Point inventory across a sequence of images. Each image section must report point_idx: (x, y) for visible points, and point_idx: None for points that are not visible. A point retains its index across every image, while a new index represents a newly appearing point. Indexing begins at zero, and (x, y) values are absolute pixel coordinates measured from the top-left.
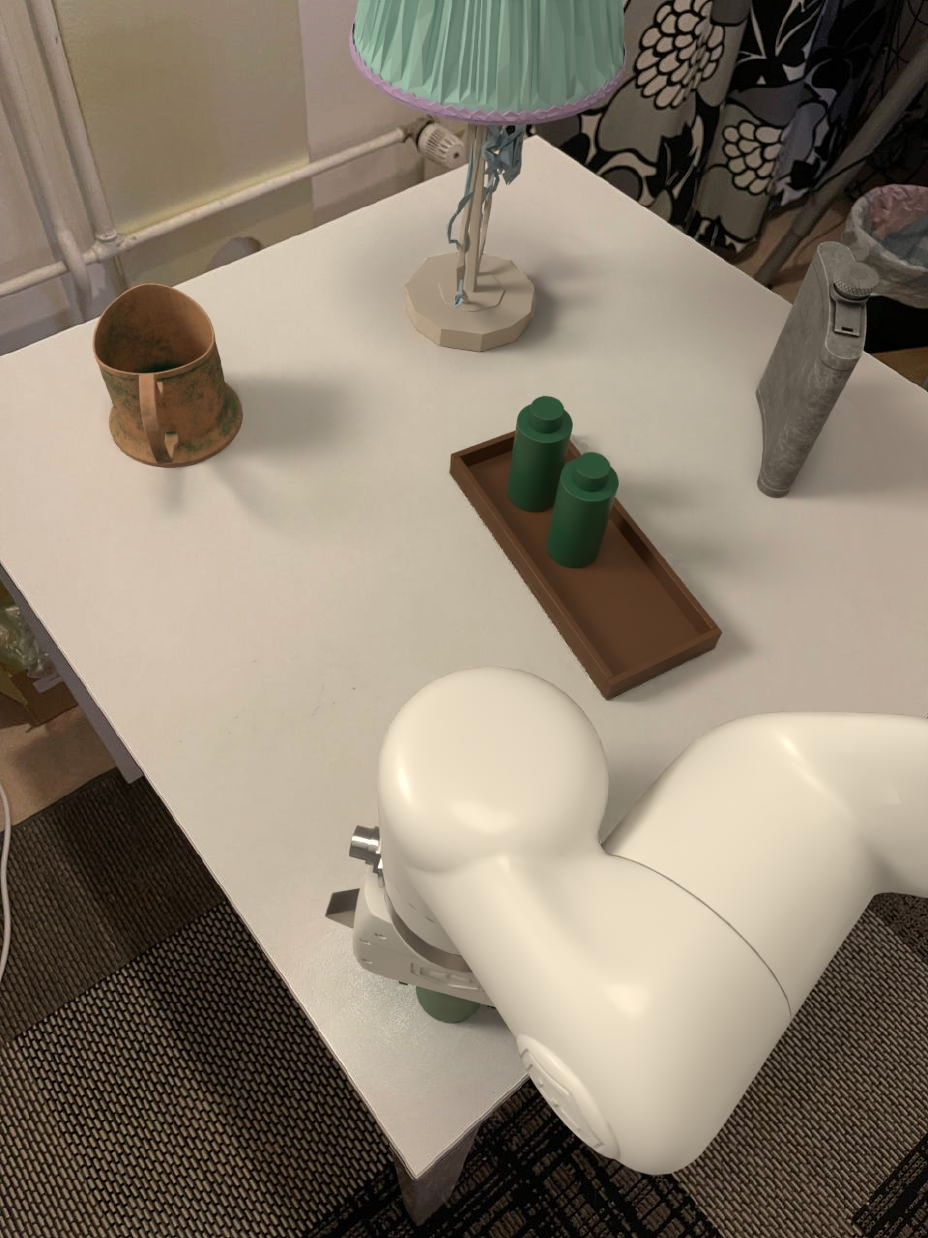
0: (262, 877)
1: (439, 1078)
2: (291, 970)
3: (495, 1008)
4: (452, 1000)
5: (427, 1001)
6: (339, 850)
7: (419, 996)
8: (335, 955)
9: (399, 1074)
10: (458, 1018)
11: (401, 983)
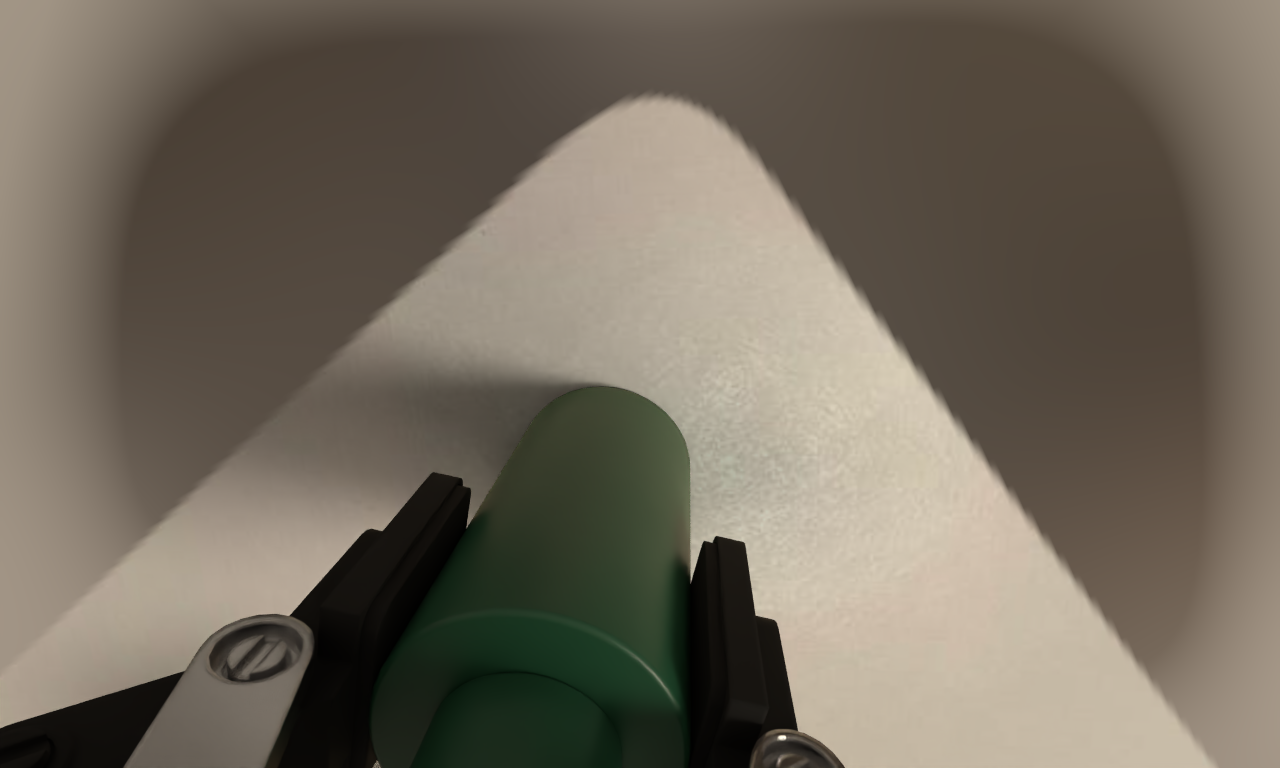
0: (1060, 684)
1: (621, 261)
2: (1000, 497)
3: (427, 482)
4: (545, 558)
5: (653, 476)
6: (873, 730)
7: (678, 463)
8: (887, 527)
9: (725, 268)
10: (574, 407)
11: (737, 551)
